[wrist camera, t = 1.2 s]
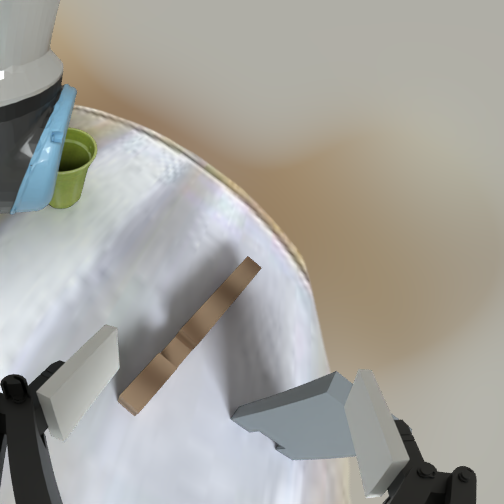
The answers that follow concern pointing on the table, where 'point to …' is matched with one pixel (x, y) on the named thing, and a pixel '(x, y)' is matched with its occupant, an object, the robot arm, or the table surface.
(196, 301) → the table surface
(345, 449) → the slotted plate
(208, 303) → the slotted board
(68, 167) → the plant pot
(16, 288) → the table surface
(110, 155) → the table surface
